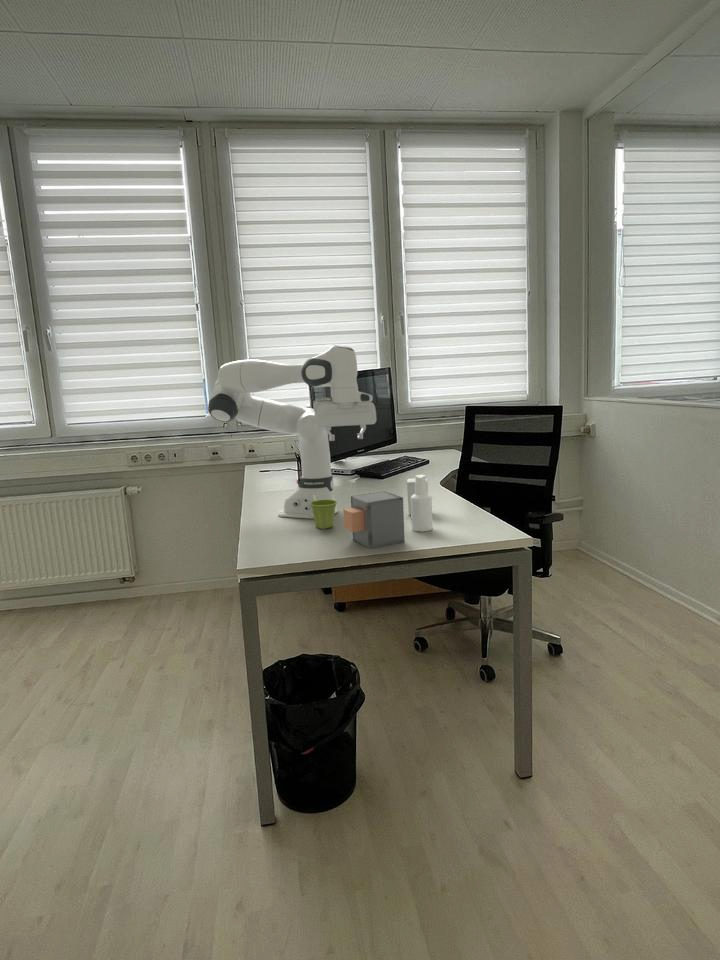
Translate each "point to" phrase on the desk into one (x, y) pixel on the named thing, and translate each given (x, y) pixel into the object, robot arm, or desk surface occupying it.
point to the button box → (380, 519)
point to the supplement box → (411, 491)
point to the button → (354, 519)
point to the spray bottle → (421, 506)
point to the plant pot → (323, 513)
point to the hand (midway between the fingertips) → (346, 439)
